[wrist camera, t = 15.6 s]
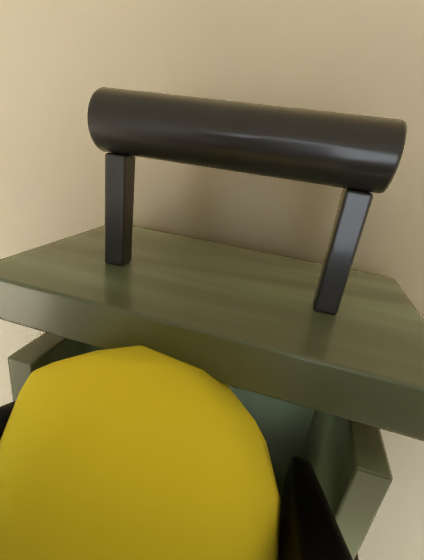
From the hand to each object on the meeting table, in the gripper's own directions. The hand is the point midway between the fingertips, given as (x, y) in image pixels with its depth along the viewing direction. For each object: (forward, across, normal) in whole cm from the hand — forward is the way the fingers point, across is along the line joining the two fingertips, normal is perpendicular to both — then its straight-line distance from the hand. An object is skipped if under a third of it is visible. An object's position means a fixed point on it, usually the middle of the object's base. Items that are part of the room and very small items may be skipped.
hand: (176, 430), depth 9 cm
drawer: (+6, 0, +1) cm, 6 cm away
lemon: (+1, 0, 0) cm, 1 cm away
